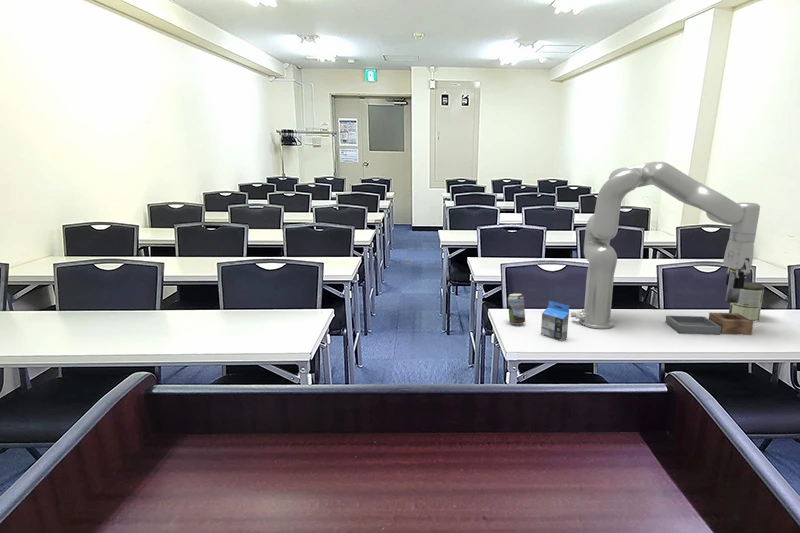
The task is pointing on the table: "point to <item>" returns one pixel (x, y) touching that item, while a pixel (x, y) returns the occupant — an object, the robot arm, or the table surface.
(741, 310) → the coffee can
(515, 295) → the beverage can
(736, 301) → the steel pin
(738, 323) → the block
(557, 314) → the label tape cartridge
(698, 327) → the tray
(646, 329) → the table surface
